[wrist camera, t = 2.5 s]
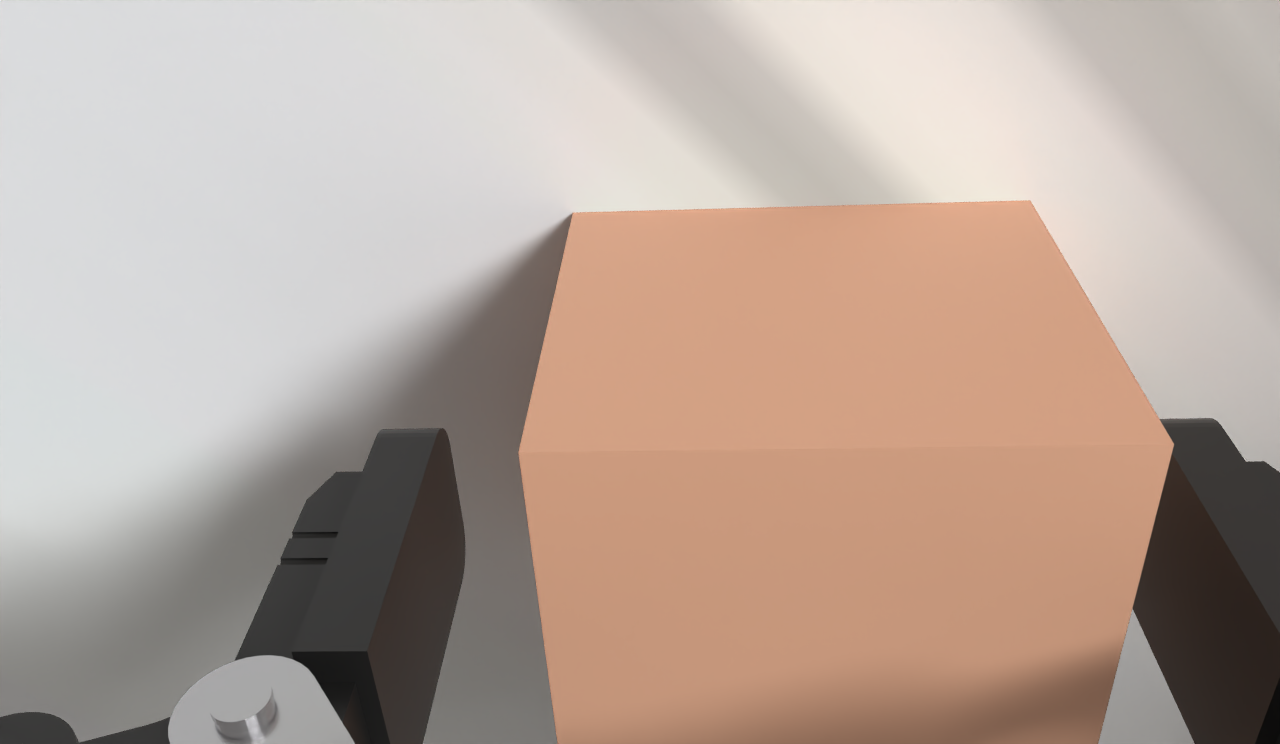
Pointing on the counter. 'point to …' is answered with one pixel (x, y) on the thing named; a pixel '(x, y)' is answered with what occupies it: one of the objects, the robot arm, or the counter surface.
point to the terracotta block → (833, 480)
